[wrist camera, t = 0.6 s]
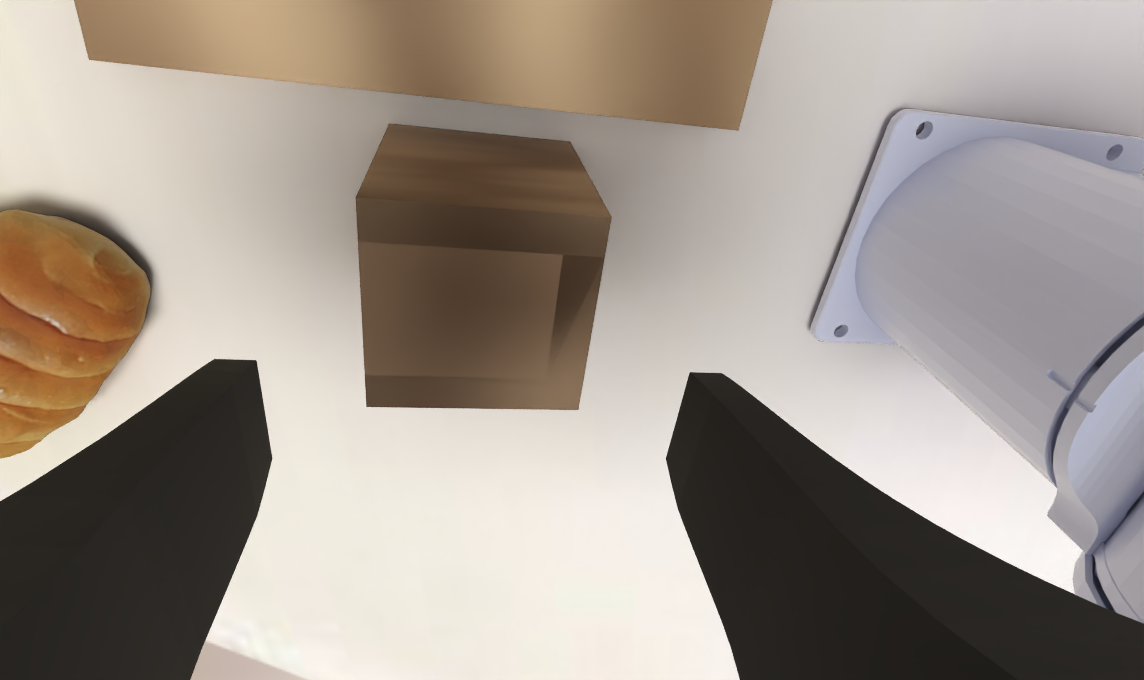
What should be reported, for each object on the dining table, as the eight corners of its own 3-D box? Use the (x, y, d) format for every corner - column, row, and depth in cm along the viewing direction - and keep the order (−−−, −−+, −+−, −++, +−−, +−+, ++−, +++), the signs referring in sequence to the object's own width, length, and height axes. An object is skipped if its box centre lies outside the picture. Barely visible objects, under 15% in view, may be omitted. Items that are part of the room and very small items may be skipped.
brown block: (569, 141, 18) (611, 217, 13) (550, 296, 20) (578, 410, 15) (389, 123, 17) (355, 197, 12) (392, 288, 19) (366, 407, 14)
